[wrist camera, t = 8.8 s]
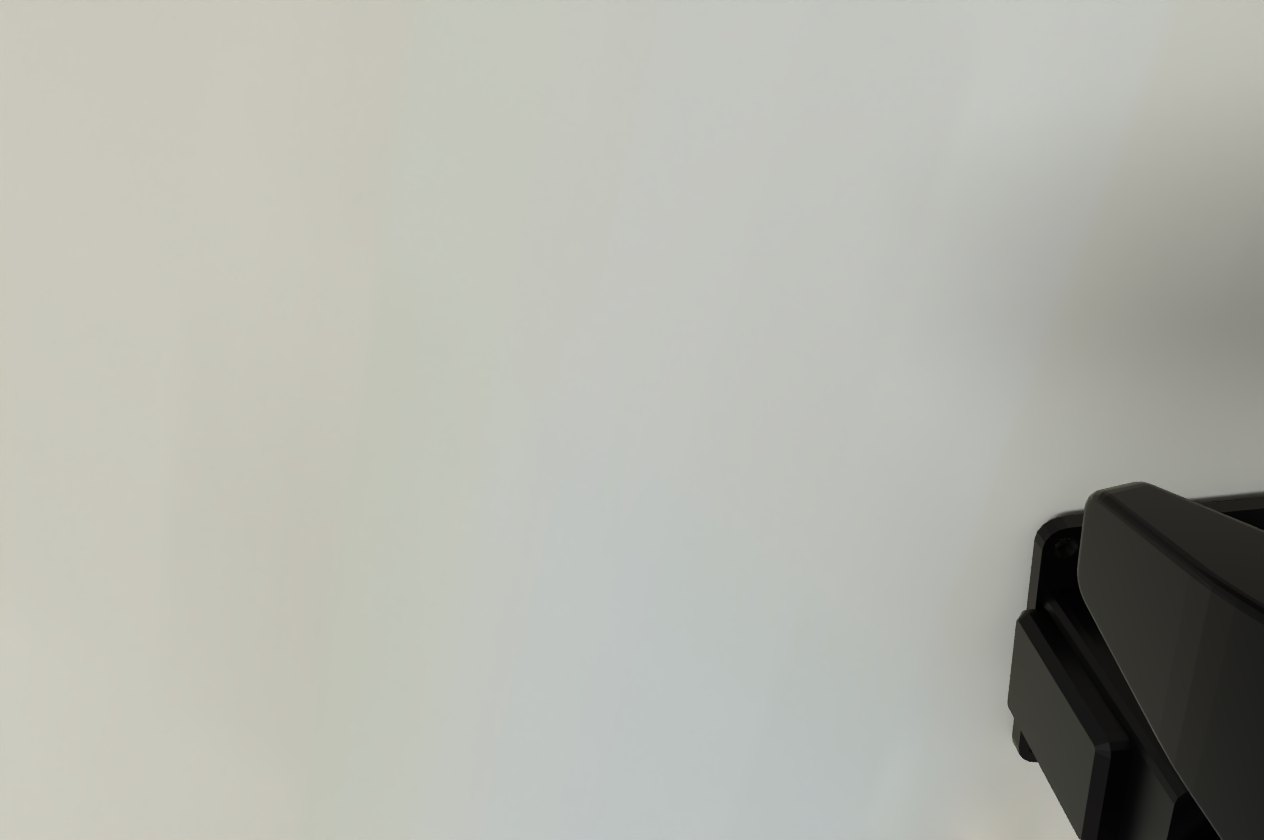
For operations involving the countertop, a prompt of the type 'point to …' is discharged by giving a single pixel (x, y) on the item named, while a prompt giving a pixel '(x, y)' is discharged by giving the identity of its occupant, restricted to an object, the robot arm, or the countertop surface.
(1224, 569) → the robot arm
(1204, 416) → the countertop surface
